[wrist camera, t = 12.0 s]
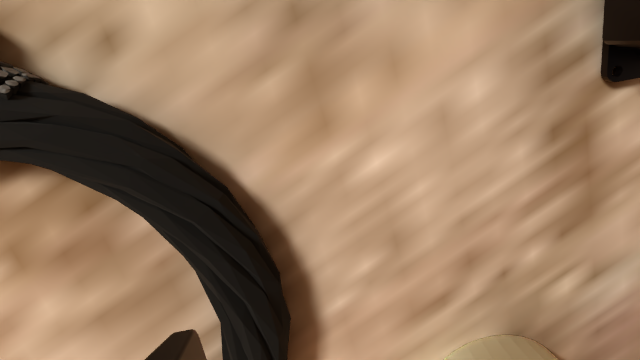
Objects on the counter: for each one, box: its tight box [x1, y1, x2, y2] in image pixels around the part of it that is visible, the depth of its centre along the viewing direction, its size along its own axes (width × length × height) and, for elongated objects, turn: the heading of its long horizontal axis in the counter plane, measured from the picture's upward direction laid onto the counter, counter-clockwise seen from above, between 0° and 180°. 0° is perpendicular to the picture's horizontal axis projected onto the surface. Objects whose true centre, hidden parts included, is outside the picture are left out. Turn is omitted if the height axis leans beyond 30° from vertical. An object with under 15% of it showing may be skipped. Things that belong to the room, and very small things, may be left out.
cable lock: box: [0, 62, 291, 360], centre depth 21 cm, size 28×4×30 cm
